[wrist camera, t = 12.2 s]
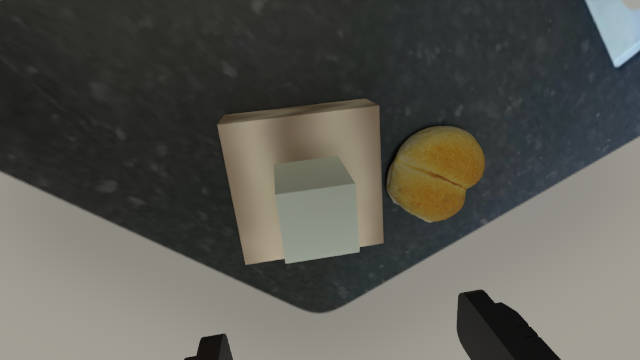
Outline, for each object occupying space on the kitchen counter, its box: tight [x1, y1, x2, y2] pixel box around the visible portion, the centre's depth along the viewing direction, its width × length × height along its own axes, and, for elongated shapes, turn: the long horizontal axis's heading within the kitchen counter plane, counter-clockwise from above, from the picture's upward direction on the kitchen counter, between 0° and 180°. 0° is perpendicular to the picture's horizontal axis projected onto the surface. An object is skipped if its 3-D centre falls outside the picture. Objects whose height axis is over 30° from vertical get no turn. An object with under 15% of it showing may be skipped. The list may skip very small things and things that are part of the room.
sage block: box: [274, 156, 360, 264], centre depth 25 cm, size 5×5×6 cm
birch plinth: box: [217, 98, 384, 265], centre depth 30 cm, size 12×12×4 cm
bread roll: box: [387, 126, 485, 223], centre depth 32 cm, size 8×9×4 cm
